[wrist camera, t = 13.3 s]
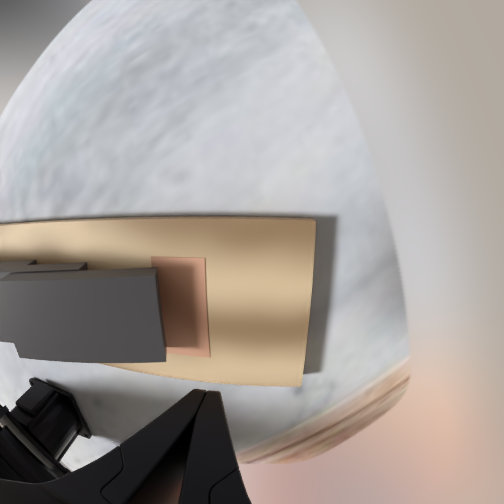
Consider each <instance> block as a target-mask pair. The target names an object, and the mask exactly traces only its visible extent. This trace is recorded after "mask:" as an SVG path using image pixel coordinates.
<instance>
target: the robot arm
mask: <svg viewBox="0 0 504 504" xmlns="http://www.w3.org/2000/svg"><path fill="white" fill-rule="evenodd" d="M29 382H30V384H31V386H32V387H30V388H29V389H28V390H27V391H26V392H25V393H24V394H23V395H22V396H21V397H20V398H19V399H18V400H17V401H16V406H15V407H14V409H13V410H12V411H11V412H9V409H8V408H7V407H6V405H5V406H4V407H2V406H1V405H0V423H1V424H2V425H3V426H4V427H3V428H2V427H1V426H0V504H252V503H251V501H250V499H249V497H248V495H247V492H246V489H245V486H244V483H243V480H242V477H241V473H240V470H239V466H238V463H237V459H236V455H235V451H234V447H233V443H232V439H231V435H230V431H229V427H228V423H227V419H226V415H225V410H224V406H223V401H222V397H221V393H220V392H219V391H210V390H209V391H206V390H200V389H193V390H192V391H191V392H189V393H188V394H187V395H186V396H184V397H183V398H182V399H181V400H179V401H178V402H177V403H175V404H174V405H173V406H172V407H170V408H169V409H168V410H166V411H165V412H164V413H163V414H161V415H160V416H159V417H157V418H156V419H155V420H153V421H152V422H151V423H149V424H148V425H147V426H145V427H144V428H143V429H141V430H140V431H138V432H137V433H136V434H134V435H133V436H132V437H130V438H129V439H127V440H126V441H124V442H123V443H122V444H120V446H117V447H116V448H114V449H113V450H111V451H110V452H108V453H107V454H105V455H104V456H102V457H100V458H99V459H97V460H95V461H93V462H91V463H90V464H88V465H86V466H84V467H82V468H80V469H77V470H75V471H73V472H71V471H70V470H68V469H67V468H65V467H63V465H61V464H60V463H59V462H60V460H61V459H62V457H63V456H64V454H65V453H66V452H67V450H68V449H69V447H70V446H71V444H72V443H73V442H74V440H75V439H76V437H77V436H78V435H81V436H83V437H86V438H88V439H90V437H91V436H92V435H91V433H90V431H89V429H88V427H87V425H86V423H85V421H84V419H83V417H82V415H81V413H80V411H79V409H78V407H77V405H76V403H75V400H74V398H73V396H72V395H71V394H69V393H67V392H65V391H62V390H60V389H57V388H55V387H52V386H50V385H47V384H45V383H43V382H41V381H38V380H36V379H34V378H31V379H30V380H29Z"/></svg>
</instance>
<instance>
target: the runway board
mask: <svg viewBox="0 0 504 504" xmlns="http://www.w3.org/2000/svg"><path fill="white" fill-rule="evenodd" d="M315 232H316V220H314V219H313V218H289V217H235V216H176V217H124V218H95V219H73V220H54V221H38V222H24V223H11V224H0V262H1V261H17V260H34V259H36V262H37V265H38V264H58V263H78V262H87V268H88V270H107V269H128V268H149V267H157V270H158V281H159V291H160V301H161V309H162V317H163V325H164V332H165V339H166V346H167V357H166V362H155V363H100V364H104V365H108V366H112V367H117V368H121V369H126V370H131V371H136V372H141V373H146V374H152V375H158V376H164V377H171V378H178V379H185V380H193V381H202V382H211V383H222V384H235V385H253V386H301V384H302V377H303V369H304V362H305V353H306V345H307V336H308V326H309V316H310V306H311V294H312V282H313V268H314V252H315Z"/></svg>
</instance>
